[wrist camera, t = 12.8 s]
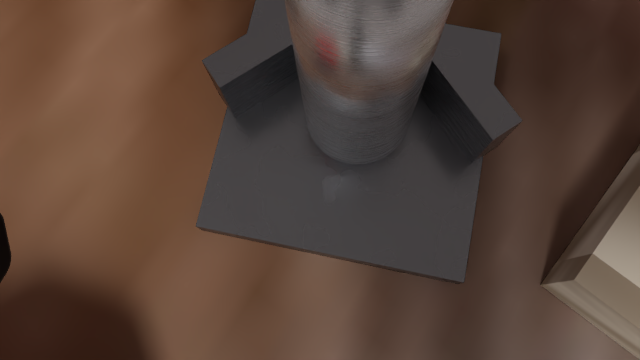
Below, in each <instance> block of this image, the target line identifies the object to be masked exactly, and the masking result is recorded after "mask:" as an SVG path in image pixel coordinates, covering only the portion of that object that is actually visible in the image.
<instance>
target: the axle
mask: <svg viewBox="0 0 640 360" xmlns="http://www.w3.org/2000/svg"><path fill="white" fill-rule="evenodd" d="M453 1H454V0H285V6H286V11H287V17H288V22H289V28H290V33H291V39H292V45H293V50H294V56H295V61H296V67H297V72H298V78H299V83H300V89H301V94H302V100H303V106H304V111H305V117H306V122H307V127H308V130H309V133H310V135H311V137H312V139H313V141H314V142H315V144H316V145H317V146H318V147H319V148H320V149H321V150H322V151H323V152H324V153H326V154H327V155H328V156H330V157H332V158H334V159H336V160H338V161H341V162H345V163H349V164H366V163H371V162H375V161H378V160H380V159H382V158H384V157H386V156H387V155H389V154H390V153H391V152H393V151H394V150H395V149H396V148H397V147H398V146H399V144H400V143H401V141H402V140H403V138H404V136H405V134H406V132H407V129H408V126H409V123H410V121H411V118H412V115H413V112H414V109H415V107H416V104H417V101H418V98H419V95H420V93H421V90H422V87H423V84H424V81H425V79H426V76H427V73H428V70H429V68H430V65H431V62H432V59H433V56H434V54H435V51H436V48H437V45H438V42H439V40H440V37H441V34H442V31H443V29H444V26H445V23H446V20H447V17H448V15H449V12H450V9H451V6H452V3H453Z"/></svg>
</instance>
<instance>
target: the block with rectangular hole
mask: <svg viewBox="0 0 640 360" xmlns="http://www.w3.org/2000/svg"><path fill="white" fill-rule="evenodd" d="M541 286H542V287H544V288H545V289H546V290H548V291H549V292H550V293H552V294H553V295H554V296H556V297H557V298H558V299H560V300H561V301H562V302H564V303H565V304H566V305H568V306H569V307H570V308H572V309H573V310H574V311H576V312H577V313H578V314H580V315H581V316H582V317H584V318H585V319H586V320H587V321H589V322H590V323H591V324H593V325H594V326H595V327H597V328H598V329H599V330H601V331H602V332H603V333H605V334H606V335H607V336H609V337H610V338H611V339H613V340H614V341H615V342H617V343H618V344H619V345H621V346H622V347H623V348H625V349H626V350H627V351H629V352H630V353H631V354H633V355H634V356H635V357H637V358H638V359H639V360H640V145H639V146H638V148H637V149H636V151H635V152H634V153H633V155H632V156H631V158H630V159H629V160H628V162H627V163H626V165H625V166H624V168H623V169H622V170H621V172H620V173H619V175H618V176H617V177H616V179H615V180H614V182H613V183H612V184H611V186H610V187H609V189H608V190H607V192H606V193H605V194H604V196H603V197H602V199H601V200H600V201H599V203H598V204H597V206H596V207H595V208H594V210H593V211H592V213H591V214H590V216H589V217H588V218H587V220H586V221H585V223H584V224H583V225H582V227H581V228H580V230H579V231H578V233H577V234H576V235H575V237H574V238H573V240H572V241H571V242H570V244H569V245H568V247H567V248H566V249H565V251H564V252H563V254H562V255H561V257H560V258H559V259H558V261H557V262H556V264H555V265H554V266H553V268H552V269H551V271H550V272H549V273H548V275H547V276H546V278H545V279H544V281H543V282H542V283H541Z"/></svg>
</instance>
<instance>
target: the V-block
mask: <svg viewBox="0 0 640 360" xmlns="http://www.w3.org/2000/svg"><path fill="white" fill-rule="evenodd" d="M500 40H501V33H495V32H490V31H484V30H479V29H473V28H467V27H462V26H456V25H450V24H446V23H445V26H444V29H443V31H442V34H441V37H440V40H439V42H438V45H437V48H436V51H435V54H434V56H433V59H432V62H431V65H430V68H429V70H428V73H427V76H426V79H425V81H424V84H423V87H422V90H421V93H420V95H419V98H418V101H417V104H416V107H415V109H414V112H413V115H412V118H411V121H410V123H409V126H408V129H407V132H406V134H405V136H404V138H403V140H402V141H401V143H400V144H399V146H398V147H397V148H396V149H395V150H394V151H393V152H391V153H390V154H389V155H387V156H386V157H384V158H382V159H380V160H378V161H375V162H371V163H366V164H349V163H345V162H341V161H338V160H336V159H334V158H332V157H330V156H328V155H327V154H326V153H324V152H323V151H322V150H321V149H320V148H319V147H318V146H317V145H316V144H315V142H314V141H313V139H312V137H311V135H310V133H309V130H308V127H307V122H306V117H305V111H304V106H303V100H302V94H301V89H300V83H299V78H298V72H297V67H296V61H295V56H294V50H293V45H292V39H291V33H290V28H289V22H288V17H287V11H286V6H285V0H256V1H255V5H254V8H253V12H252V16H251V20H250V24H249V27H248V31H247V34H245V35H244V36H242V37H240V38H239V39H237V40H235V41H234V42H232V43H230V44H229V45H227V46H225V47H223V48H222V49H220V50H218V51H217V52H215V53H213V54H212V55H210V56H208V57H207V58H205V59H203V60H202V62H203V64H204V66H205V68H206V70H207V71H208V73H209V75H210V77H211V79H212V81H213V83H214V85H215V87H216V89H217V91H218V93H219V95H220V96H221V98H222V99H223V101H224V102H225V104H226V105H227V110H226V114H225V118H224V122H223V125H222V129H221V133H220V137H219V140H218V144H217V148H216V152H215V156H214V159H213V163H212V167H211V171H210V174H209V178H208V182H207V186H206V190H205V193H204V197H203V201H202V205H201V208H200V212H199V216H198V220H197V223H196V227H198V228H199V229H201V230H203V231H208V232H213V233H218V234H222V235H227V236H232V237H237V238H241V239H246V240H251V241H256V242H260V243H265V244H270V245H275V246H279V247H284V248H289V249H294V250H299V251H303V252H308V253H313V254H318V255H322V256H327V257H332V258H337V259H341V260H346V261H351V262H356V263H360V264H365V265H370V266H375V267H379V268H384V269H389V270H394V271H398V272H403V273H408V274H413V275H417V276H422V277H427V278H432V279H436V280H441V281H446V282H451V283H455V284H460V283H464V280H465V273H466V266H467V260H468V253H469V247H470V240H471V233H472V227H473V220H474V213H475V207H476V200H477V193H478V187H479V180H480V173H481V167H482V160H483V156H484V155H486V154H487V153H489V152H490V151H492V150H493V149H495V148H496V147H497V146H498V145H499V144H500V143H501V142H502V141H503V140H504V139H505V138H506V137H507V136H508V135H509V134H510V133H511V132H512V131H513V130H514V129H515V128H516V127H517V126H518V125H519V124H520V123H521V122H522V119H521V118H520V117H519V116H518V114H517V113H516V112H515V110H514V109H513V108H512V107H511V105H510V104H509V103H508V102H507V100H506V99H505V98H504V96H503V95H502V94H501V93H500V91H499V90H498V89H497V88H496V86H495V85H494V80H495V73H496V67H497V60H498V53H499V47H500Z"/></svg>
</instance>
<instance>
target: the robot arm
mask: <svg viewBox="0 0 640 360" xmlns="http://www.w3.org/2000/svg"><path fill="white" fill-rule="evenodd" d="M10 262H11V251H10V246H9V242H8V237H7V232H6V227H5V223H4V219H3V216H2V215H1V213H0V283H1V281H2V279H3V278H4V276H5V275H6V273H7V271H8V269H9V266H10Z"/></svg>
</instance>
